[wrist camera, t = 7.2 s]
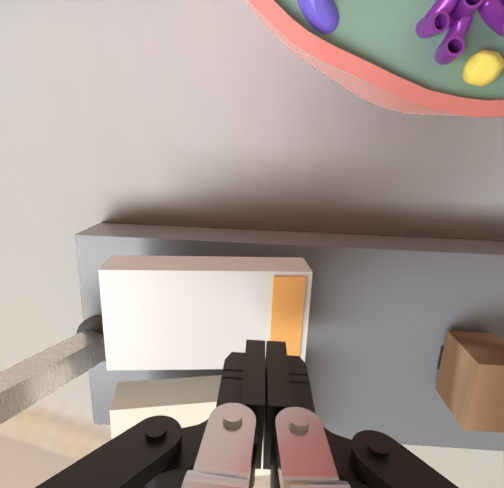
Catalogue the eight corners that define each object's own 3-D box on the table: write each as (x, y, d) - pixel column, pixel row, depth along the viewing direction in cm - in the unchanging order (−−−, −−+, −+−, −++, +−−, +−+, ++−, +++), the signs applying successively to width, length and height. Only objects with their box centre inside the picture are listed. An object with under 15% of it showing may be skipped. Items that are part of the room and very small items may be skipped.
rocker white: (119, 346, 18) (106, 371, 16) (112, 255, 17) (97, 270, 15) (296, 345, 19) (304, 369, 17) (303, 257, 17) (313, 272, 15)
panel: (108, 390, 25) (85, 425, 22) (94, 222, 22) (65, 235, 19) (514, 416, 24) (551, 456, 21) (563, 243, 21) (614, 261, 18)
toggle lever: (86, 354, 20) (-72, 443, 14) (83, 322, 20) (-83, 401, 14) (111, 364, 20) (-45, 465, 13) (109, 332, 19) (-56, 420, 13)
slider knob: (435, 388, 20) (463, 430, 17) (447, 330, 19) (479, 364, 16) (479, 391, 20) (515, 433, 17) (493, 332, 19) (534, 367, 16)
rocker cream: (123, 458, 19) (116, 492, 17) (117, 382, 18) (109, 410, 16) (285, 441, 21) (294, 471, 19) (290, 370, 20) (301, 394, 18)
